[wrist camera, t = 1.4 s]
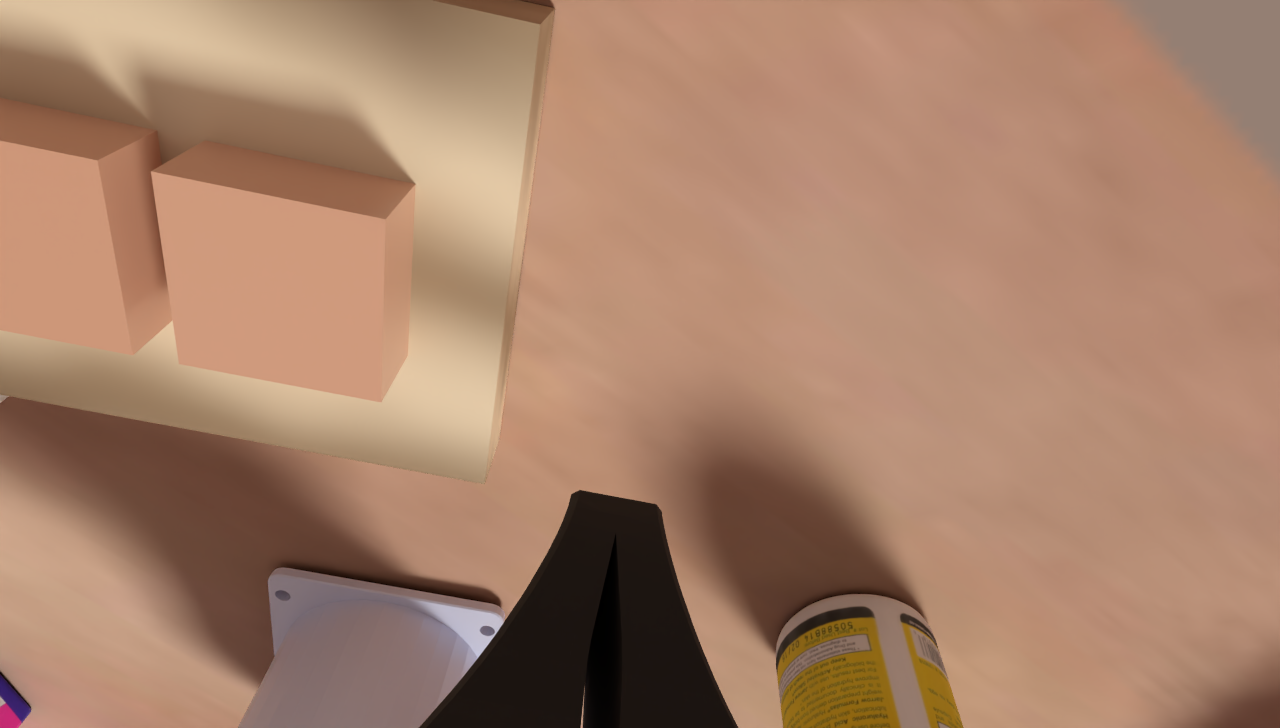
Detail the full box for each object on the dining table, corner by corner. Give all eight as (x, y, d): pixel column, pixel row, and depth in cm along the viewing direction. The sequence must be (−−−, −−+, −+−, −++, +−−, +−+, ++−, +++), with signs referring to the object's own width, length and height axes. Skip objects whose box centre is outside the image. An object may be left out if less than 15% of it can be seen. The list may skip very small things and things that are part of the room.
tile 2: (182, 311, 19) (133, 355, 17) (-9, 274, 19) (-78, 315, 17) (157, 130, 17) (97, 160, 15) (-63, 84, 16) (-149, 110, 15)
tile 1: (407, 355, 19) (381, 402, 18) (223, 320, 19) (178, 364, 17) (415, 183, 17) (385, 219, 15) (205, 139, 17) (150, 171, 15)
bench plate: (499, 439, 23) (484, 484, 22) (49, 354, 22) (-3, 394, 21) (554, 8, 17) (540, 24, 15) (-74, -133, 16) (-164, -133, 14)
